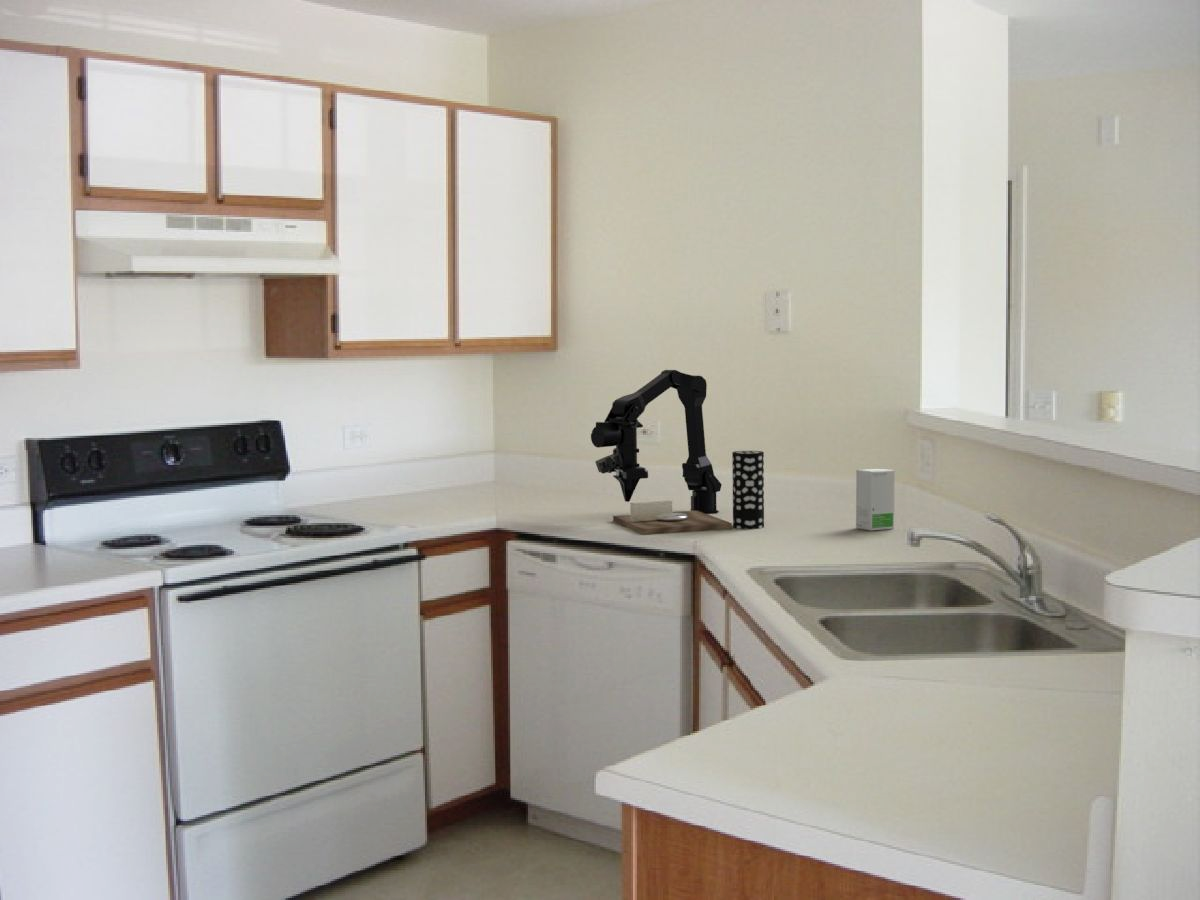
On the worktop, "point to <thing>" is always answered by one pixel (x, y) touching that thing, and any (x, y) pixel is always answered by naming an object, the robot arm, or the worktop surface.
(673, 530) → the dial plate
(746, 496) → the white-spotted black cylinder
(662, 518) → the cream block with dome
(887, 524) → the skincare box
